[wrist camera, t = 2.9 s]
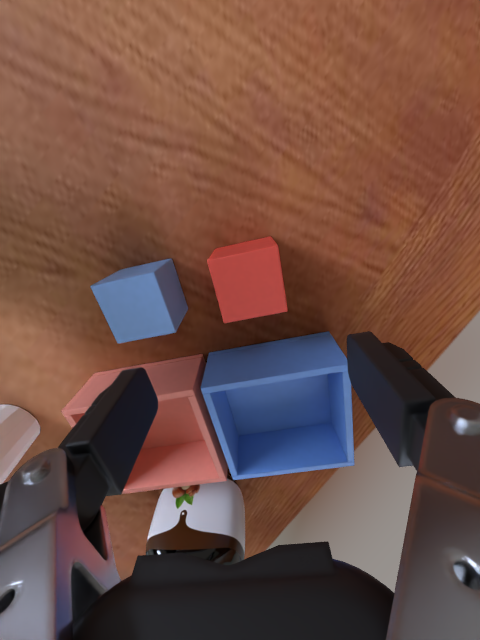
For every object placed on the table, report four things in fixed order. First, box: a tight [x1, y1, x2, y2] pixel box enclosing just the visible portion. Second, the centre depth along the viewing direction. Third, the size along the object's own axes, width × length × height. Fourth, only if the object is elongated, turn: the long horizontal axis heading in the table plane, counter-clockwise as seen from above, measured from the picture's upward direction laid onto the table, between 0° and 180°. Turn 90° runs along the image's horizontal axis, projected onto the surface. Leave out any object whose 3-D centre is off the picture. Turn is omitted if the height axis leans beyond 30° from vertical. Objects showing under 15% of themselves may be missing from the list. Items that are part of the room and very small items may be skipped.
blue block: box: [90, 258, 188, 343], centre depth 19 cm, size 4×4×4 cm
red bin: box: [61, 354, 228, 494], centre depth 24 cm, size 11×11×5 cm
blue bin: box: [201, 331, 354, 480], centre depth 23 cm, size 11×11×5 cm
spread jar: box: [146, 474, 245, 565], centre depth 28 cm, size 12×11×12 cm
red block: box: [207, 236, 288, 323], centre depth 18 cm, size 4×4×4 cm
